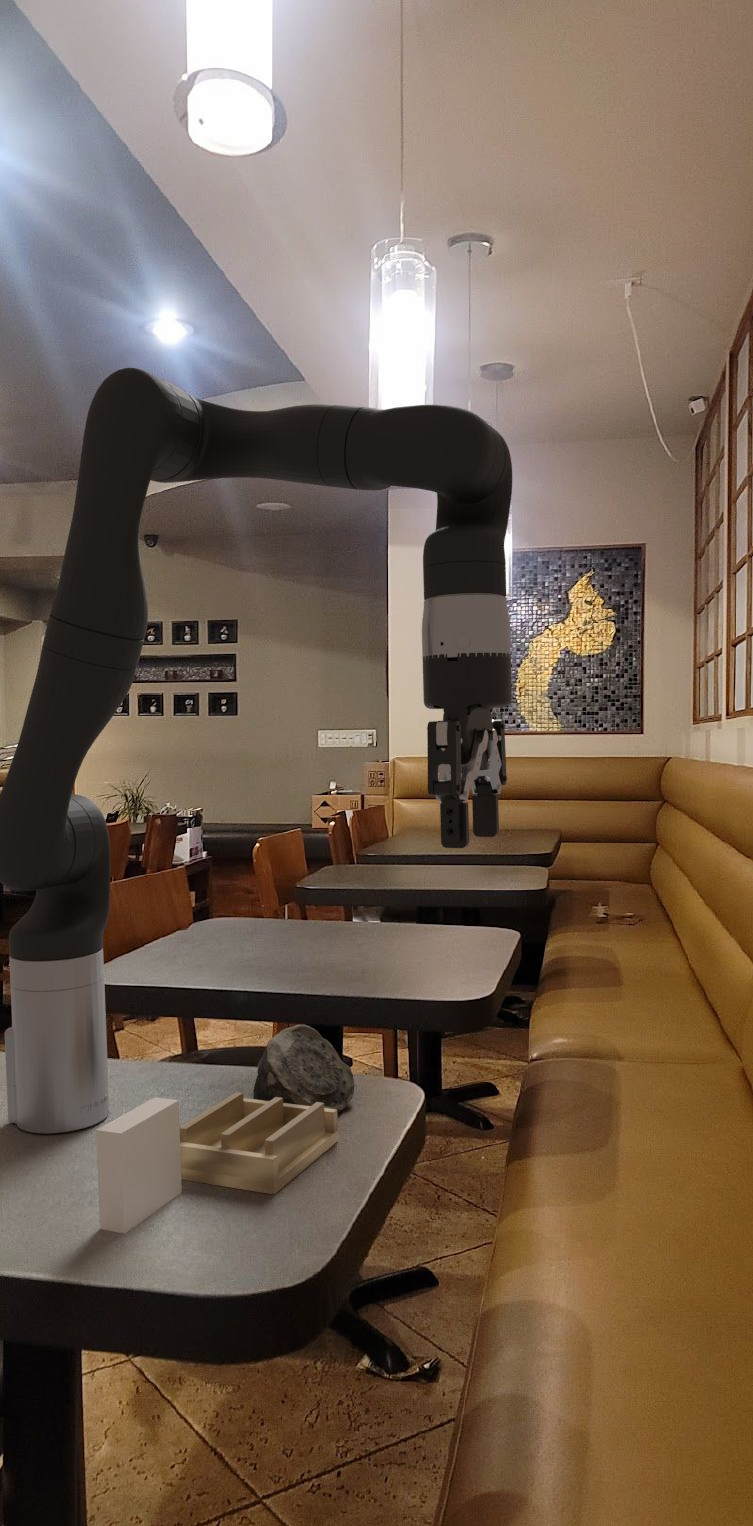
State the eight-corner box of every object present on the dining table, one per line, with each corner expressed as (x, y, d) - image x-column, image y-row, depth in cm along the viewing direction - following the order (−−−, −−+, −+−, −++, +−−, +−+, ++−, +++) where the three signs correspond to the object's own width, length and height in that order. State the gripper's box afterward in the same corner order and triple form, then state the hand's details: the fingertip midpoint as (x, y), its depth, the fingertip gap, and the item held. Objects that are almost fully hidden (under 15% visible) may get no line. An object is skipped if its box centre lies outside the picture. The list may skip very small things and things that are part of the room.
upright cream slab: (99, 1228, 86) (96, 1129, 86) (158, 1188, 93) (155, 1097, 93) (124, 1233, 85) (121, 1133, 85) (181, 1192, 92) (178, 1100, 92)
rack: (165, 1176, 96) (163, 1131, 96) (238, 1126, 107) (236, 1087, 107) (274, 1194, 91) (272, 1147, 91) (338, 1140, 103) (336, 1099, 103)
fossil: (344, 1122, 106) (294, 1033, 106) (267, 1161, 108) (218, 1073, 108) (365, 1083, 117) (320, 1001, 117) (295, 1119, 119) (250, 1039, 119)
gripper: (451, 658, 100) (456, 833, 101) (394, 650, 87) (399, 850, 87) (531, 654, 97) (535, 834, 98) (483, 644, 84) (488, 852, 85)
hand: (471, 841), depth 93 cm, fingers open, 8 cm apart
